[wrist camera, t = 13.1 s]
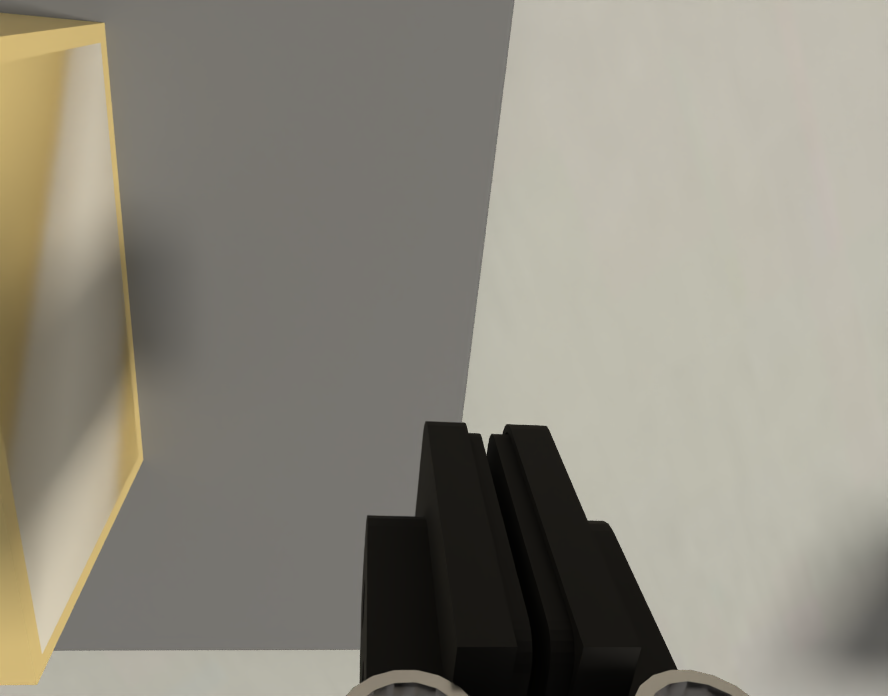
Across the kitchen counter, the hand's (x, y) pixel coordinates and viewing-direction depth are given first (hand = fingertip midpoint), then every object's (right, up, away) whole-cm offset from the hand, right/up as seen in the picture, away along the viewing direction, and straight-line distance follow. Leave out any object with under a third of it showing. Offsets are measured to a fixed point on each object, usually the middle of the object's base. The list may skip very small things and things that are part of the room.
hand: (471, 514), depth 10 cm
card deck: (-8, +4, +4) cm, 10 cm away
